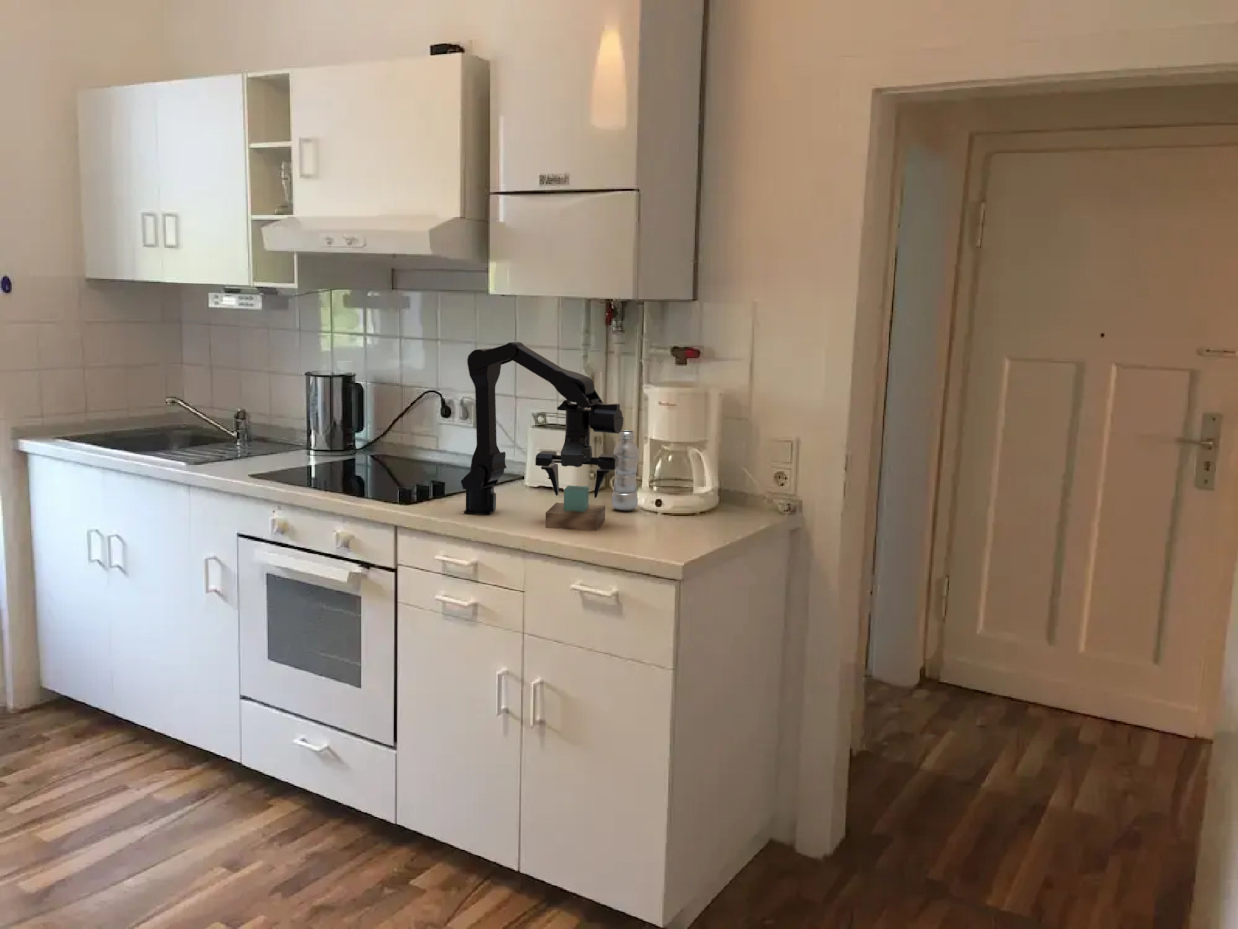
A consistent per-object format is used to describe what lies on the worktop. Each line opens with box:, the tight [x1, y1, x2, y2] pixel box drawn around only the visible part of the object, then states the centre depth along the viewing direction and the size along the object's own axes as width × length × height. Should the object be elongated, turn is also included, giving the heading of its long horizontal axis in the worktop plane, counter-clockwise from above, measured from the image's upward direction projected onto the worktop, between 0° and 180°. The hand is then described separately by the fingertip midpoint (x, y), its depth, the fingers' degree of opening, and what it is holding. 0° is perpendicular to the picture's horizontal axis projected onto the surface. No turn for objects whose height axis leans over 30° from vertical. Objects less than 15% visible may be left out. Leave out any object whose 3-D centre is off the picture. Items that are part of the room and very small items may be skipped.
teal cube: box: [563, 485, 590, 512], centre depth 245 cm, size 5×5×5 cm
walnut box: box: [544, 502, 606, 532], centre depth 246 cm, size 12×12×4 cm
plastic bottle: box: [611, 429, 640, 512], centre depth 261 cm, size 6×7×20 cm
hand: (576, 496), depth 245 cm, fingers open, 9 cm apart
